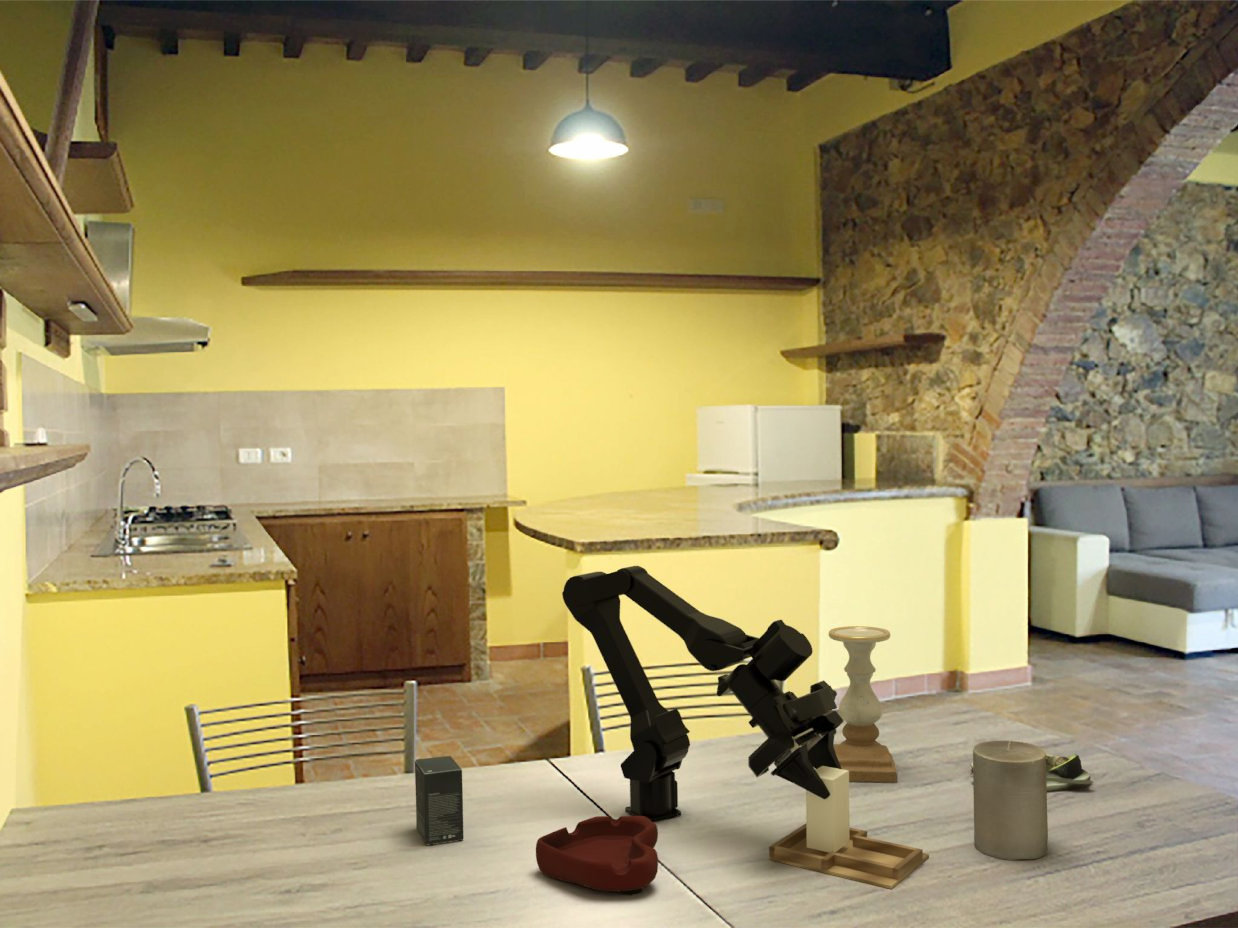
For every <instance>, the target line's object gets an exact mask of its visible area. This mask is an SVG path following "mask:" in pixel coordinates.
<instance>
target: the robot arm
mask: <svg viewBox="0 0 1238 928" xmlns="http://www.w3.org/2000/svg"><path fill="white" fill-rule="evenodd" d="M561 594H562V600H563V602H564V604H565V606H566V608H567V609H568V611H569V612H570V614H571V616H572V617H573V619H574V620H575V621H576V622H577V623H579V624H580V625H581V626H583V628H584V629H586V630H587V631H589V633H590V634H591V635H592V637H593V639H594V642H595V644H596V646H597V648H598V650H599V653H600V655H601V657H602V658H603V662H604V664H605V665H606V668H607V670H608V672H609V674H610V677H611V678H612V681H613V682H614V685H615V687H616V689H617V691H618V693H619V695H620V697H621V700H622V702H623V704H624V706H625V708H626V710H627V713H628V715H629V719H630V728H629V730H630V732H629V734H630V735H629V736H630V737H629V738H630V739H629V740H630V741H631V745H632V748H633V751H632V752H631V753H630V754H629V755H628V756H627V757H626V758H625V759H624V760H623V761H622V762H621V763H620V768H621V772H622V775H623V778H624V779H627V780H629V796H630V797H629V800H630V802H629V806H626V807H625V812H626V813H628V814H630V815H631V816H645V817H647V818H648V819H650V820H651V821H652V822H655V821H659V820H660V821H661V820H665V819H668V818H673V817H678V816H681V815H682V811H681V810H679V809H677V808H678V807H679V796H678V792H679V791H678V781H677V780H676V773H675V772H674V771H675V770H679V769H680V768H681V766H682V762H683V760H684V758H686V757H687V755H688V752H689V748H690V746H691V742H690V738H689V735H688V734H689V733H690V732H691V731H690V730H689V729H688V728H687V726H686V725H685V723H684V722H683V721H684V720H683V719H682V715H681V712H680V711H679V710H678V708H673V709H671V710H668V709H667V708H665V706H664V705H662V704H661V703H660V701H659V699H658V697H657V695H656V693H655V691H654V689H653V687H652V684H651V683H650V680H649V679H648V676H647V674H646V672H645V670H644V668H643V666H642V664H641V662H640V659H639V658H638V655H637V653H636V651H635V649H634V646H633V644H632V642H631V640H630V639H629V636H628V634H627V632H626V630H625V628H624V625H623V624H622V621H621V599H620V596H623V595H624V596H626V597H627V598H628V599H630V600H631V601H632V602H634V603H635V604H637V606H639V607H640V608H641V609H643V611H644V610H645V611H646V612H647V613H648V614H650V615H651V616H652V617H654V618H655V619H656V620H658V621H659V622H661V623H662V624H663V625H664V626H666V627H667V628H668V629H670V630H671V631H673V633H675V634H677V636H678V637H680V638H681V640H683V641H684V644H685V647H686V649H687V651H688V652H689V654H690V655H691V656H692V657H694V659H695V660H696V661H697V662H698V664H699V665H701V666H702V667H703V668H704V669H706V670H707V671H711V672H717V671H721V670H724V669H728V668H730V667H733V666H736V667H735V668H734V669H733V670H732V671H731V672H730V673H729V674H727V673H725V674H722V675H720V676H718V677H717V681H718V682H717V683H718V684H717V688H716V695H717V696H718V697H722V696H725V695H727V694H730V693H732V694H733V695H734V696H735V698H736V699H737V700H738V702H739V703H740V704H741V705H742V707H743V709H745V711H746V712H747V713H748V715H749V716H750V717H751V719H750V720H749V721H748V724H749V725H750V726H751V728H752V729H754V728H756V727H758V728H760V730H761V731H762V732H763V733H764V735H765V736H766V737H767V739H766V740H764V742H762V743H761V744H760V745H759V746H758V747H757V748H756V749H755V750H754V751H753V752H752V753H751V754H750V755H749V756H748V761H747V762H748V764H747V766H748V768H749V769H750V770H751V772H752V773H753V774H754V776H755V777H756V778H759V777H761V776H762V775H764V774H766V773H768V772H769V771H770V768H769V767H770V766H772V765H774V766H775V767H776V768H774V769H773V770H772V771H771V772H770V775H771V776H773V777H774V776H778V777H779V778H781V779H783V780H785V781H787V782H790V783H792V784H794V785H796V786H798V787H800V788H802V789H804V790H805V791H806V790H807V791H809V792H811V793H813V794H815V795H817V796H819V797H821V798H822V799H827V798H828V797H829V796H830V793H829V791H828V789H827V787H826V786H825V784H824V782H823V781H822V779H821V778H820V776H819V775H818V773H817V772H816V769H818V768H819V767H821V766H827V767H832V768H838V769H842V768H841V766H840V763H839V761H838V758H837V756H836V753H835V750H834V746H833V744H835V743H834V742H835V735H836V734H837V728H839V727H840V726H841V725H842V724H843V723H844V722H845V721H844V720H843V719H842V718H841V717H840V715H839V712H838V711H836V709H838V706H837V703H836V698H837V695H838V693H837V692H838V691H837V690H834V689H833V687H832V686H831V685H829V684H828V683H827V682H826V680H822V681H819V682H818V681H817V682H815V683H814V684H811V685H810V688H809V692H808V693H806V694H805V695H802V696H798V697H797V695H796V694H795V693H794V692H793V691H790V690H788V691H786V692H784V691H783V690H782V688H781V687H780V686H779V684H778V683H777V682H776V681H779V682H785V681H786V680H787V679H789V678H790V677H791V676H792V675H793V674H794V673H795V672H796V670H797V669H799V668H800V666H802V665H803V664H804V663H805V662H806V661H807V660H808V659H809V658H810V657H811V656H812V655H813V652H814V651H813V647H812V644H811V642H810V640H809V639H808V637H806V635H805V634H804V633H801V632H800V631H799V630H798V629H796V628H795V627H792V626H790V625H787V624H786V623H785V622H784V621H783V619H777V620H774V621H773V622H772V623H771V624H770V625H769V626H767V629H766V630H765V632H764V633H763V634H762V635H761V636H760V637H756V636H752V635H750V634H749V635H748V634H746V633H745V631H744V630H743V629H742V628H740V627H739V626H737V625H735V624H732V623H731V622H728V621H727V620H725V619H724V618H723V619H722V618H719V617H715V616H712V615H708V614H706V613H704V612H702V611H700V610H698V609H697V608H696V607H694V606H693V605H692V604H691V603H689V602H688V601H686V600H685V599H684V598H682V596H679V595H678V594H676V592H674V591H672V589H670V588H668V587H667V586H665V584H663V583H661V582H660V580H658V579H656V578H655V577H653V576H652V575H651V574H649V573H648V571H647V569H646V568H644V567H642V566H640V565H633V566H628V567H627V566H626V567H622V568H620V569H619V568H618V569H617V570H616V571H612V572H610V573H606V572H604V571H594V572H593V571H592V572H588V573H583V574H578V575H573V576H571V577H569V578H568V579H567V580H566V582H565V584H564V586H563V591H562V593H561ZM749 658H751V659H750V661H748V662H747V664H746V663H742V662H744V661H745V660H747V659H749Z"/></svg>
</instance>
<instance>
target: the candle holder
mask: <svg viewBox="0 0 1238 928" xmlns="http://www.w3.org/2000/svg"><path fill="white" fill-rule="evenodd" d="M828 637H829V639H831V640H834V641H837V642H841V643H842V644H843V647H844V648H845V649H846V650H847V653H848V661H847V663H846V665H845V666H844V668H843V671H844V672H846V676H847V677H848V679H849V685H848V687H847V689H846V691H845V693H844V695H843V696H842V698H841V700H840V702H839V704H838V708H837V712H838V714H839V715H840V717H841V718H842V719H843V720H844V721H843V722H846V723H845V725H844V726H843V727H842V736H843V737H844V738H845V740H844V741H841V742H840V743H839V744H837V743H836V744H835V743H833V746H834V750H835V753H836V756H837V758H838V761H839V763H840V766H841V768H842V769H843V770H848V771H849V783H885V784H887V783H890V784H892V783H897V782H898V772H897V767H896V763H895V759H894V758H893V755H892V754H891V753H890V751H889V750H890V749H889V748H888V746H887V745H885V744H881V743H880V742H878V741H876V740H877V739H878V738H879V735H880V730H879V727H877V725H876V724H875V723H877V722H879V721H880V719H881V718H882V716H883V712H884V711H883V705H882V703H881V701H880V700H879V698H878V697H877V695H876V694H875V692H874V690H873V688H872V685H871V680H872V677H873V676H874V673H875V672H876V671H877V670H876V667H875V666H874V665H873V663H872V660H871V654H872V651H873V650H875V647H876V645H877V643H882V642H885V641H888V640H889V639H890V638H891V631H889V630H887V629H885V628H882V627H881V628H880V627H874V626H862V625H861V626H858V625H856V626H855V625H854V626H851V625H850V626H841V627H834V628H831V629H830V630H829V631H828Z"/></svg>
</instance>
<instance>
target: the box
mask: <svg viewBox="0 0 1238 928" xmlns="http://www.w3.org/2000/svg"><path fill="white" fill-rule="evenodd" d="M414 775H415V778H414V779H415V780H414V781H415V810H416V811H415V814H416V815H415V816H416V817H415V818H416V821H415V823H416V825H415V826H416V830H417V832H418V834H419V835H420V836H421V838H422V840H423V842H424V844H425V845H426V846H429V845H428V844H433V845H439V844H438V843H442V844H447V843H446V842H449V843H451V842H450V841H456V842H459V841H458V840H462V841H464V802H463V801H464V799H463V797H464V796H463V795H464V794H463V791H464V790H463V769H462V768H461V767H460V765H459V764H458V763H457V762H456V760H455V759H454V758H453V757H452V756H451V755H445V756H436V757H428V758H427V757H425V758H418V759H415V760H414Z"/></svg>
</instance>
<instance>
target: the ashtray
mask: <svg viewBox="0 0 1238 928" xmlns="http://www.w3.org/2000/svg"><path fill="white" fill-rule="evenodd" d="M658 836H659V831H658V825H657V824H656V823H654V821H651V820H650V819H648V818H647V817H645V816H633V815H621V816H620V817H618V818H616V819H614V818H612V817H611V816H608V815H601V816H593V817H589V818H587V819H585V820H582V821H579V822H577V824H576V827H575V828H574V830H573V831H572V832H569V831H568V829H567V827H562V828H560V829H558V830H557V829H556V830H555V831H552V832H550V833H547V834H545V835H542V836H540V837H539V838H538V839H537V841H536V844H535V858H536V859H535V860H536V864H537V866H538V870H539V871H541V873H542V874H544V875H545V876H547V877H549V878H551V879H556V880H560V881H564V882H567V883H568V882H569V883H572V884H576V885H580V886H583V887H587V888H590V889H592V890H596V891H605V892H619V893H620V894H622V895H624V896H636V895H639V894H641V893H642V892H643V889H644V888H646V887H648V886H649V884H651V883H652V882H653V881H654V880H655V879H656V877H657V874H658V869H659V867H658V866H659V860H658V858H659V857H658V852H657V850H656V849H655V846H656V844H657V842H658V838H659V837H658Z"/></svg>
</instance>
